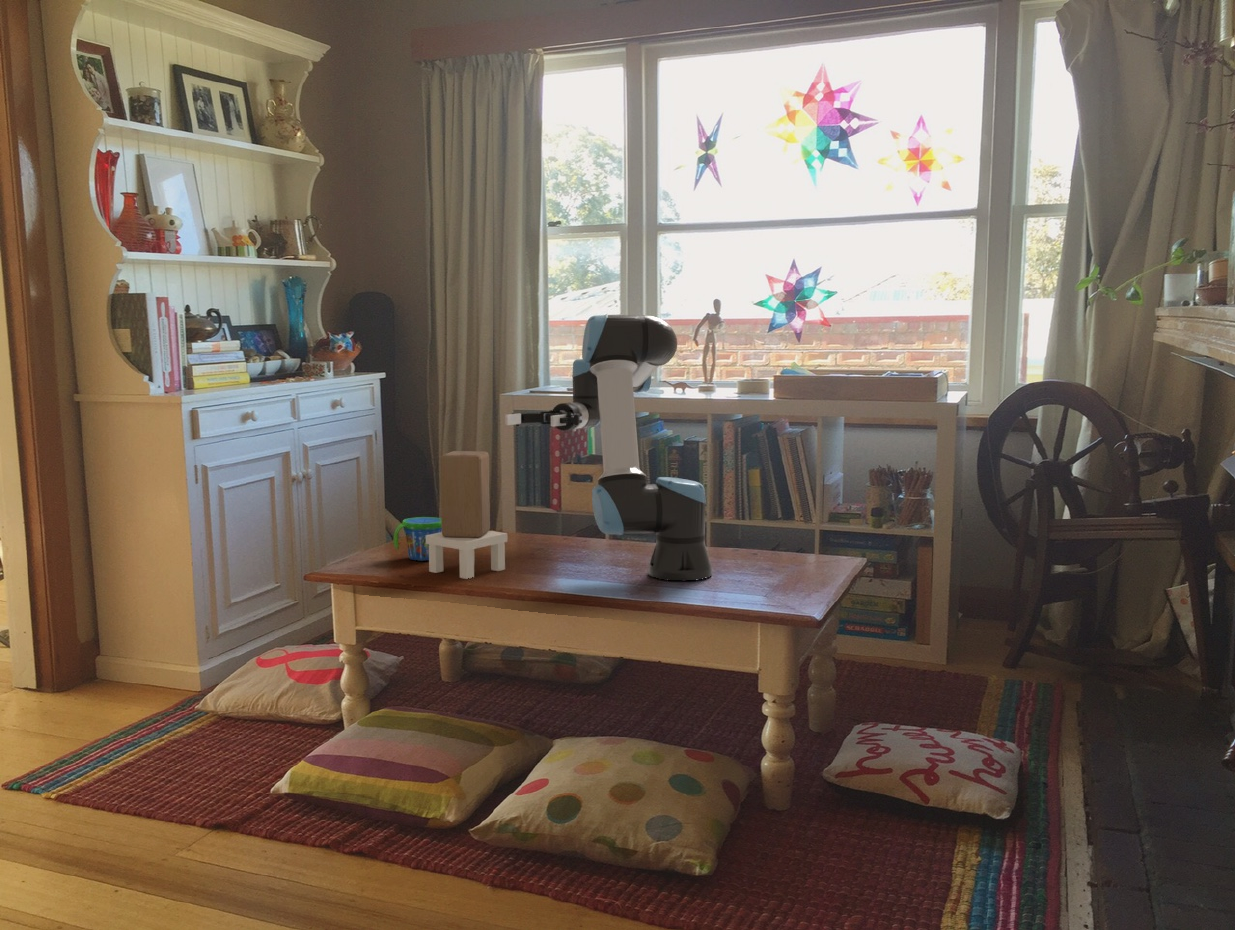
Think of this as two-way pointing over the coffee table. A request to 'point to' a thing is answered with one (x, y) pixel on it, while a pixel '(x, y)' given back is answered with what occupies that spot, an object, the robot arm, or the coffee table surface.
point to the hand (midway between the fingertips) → (528, 420)
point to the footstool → (467, 551)
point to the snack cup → (418, 535)
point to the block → (465, 494)
